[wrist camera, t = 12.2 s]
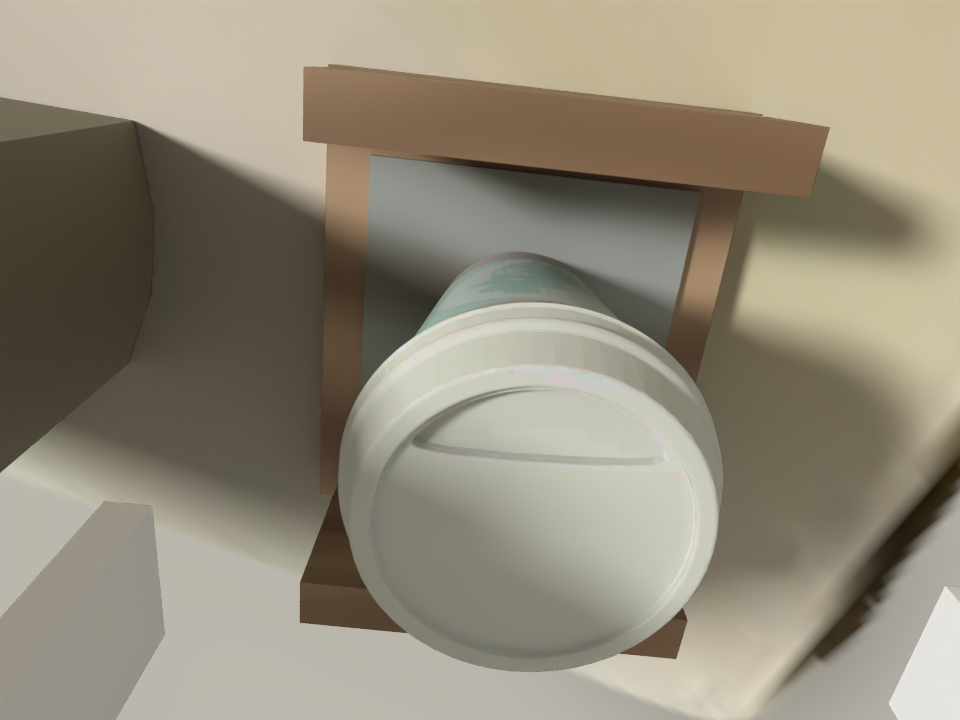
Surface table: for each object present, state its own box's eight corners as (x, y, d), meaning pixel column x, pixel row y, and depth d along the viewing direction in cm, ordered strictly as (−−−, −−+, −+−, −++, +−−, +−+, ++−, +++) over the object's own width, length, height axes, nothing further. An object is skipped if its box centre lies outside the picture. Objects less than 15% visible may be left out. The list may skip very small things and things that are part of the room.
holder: (336, 64, 23) (258, 61, 15) (749, 112, 23) (873, 132, 16) (326, 477, 29) (267, 619, 22) (652, 510, 30) (706, 662, 22)
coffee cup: (684, 305, 24) (842, 498, 13) (536, 471, 27) (565, 746, 16) (490, 158, 23) (484, 240, 12) (352, 352, 25) (242, 570, 14)
